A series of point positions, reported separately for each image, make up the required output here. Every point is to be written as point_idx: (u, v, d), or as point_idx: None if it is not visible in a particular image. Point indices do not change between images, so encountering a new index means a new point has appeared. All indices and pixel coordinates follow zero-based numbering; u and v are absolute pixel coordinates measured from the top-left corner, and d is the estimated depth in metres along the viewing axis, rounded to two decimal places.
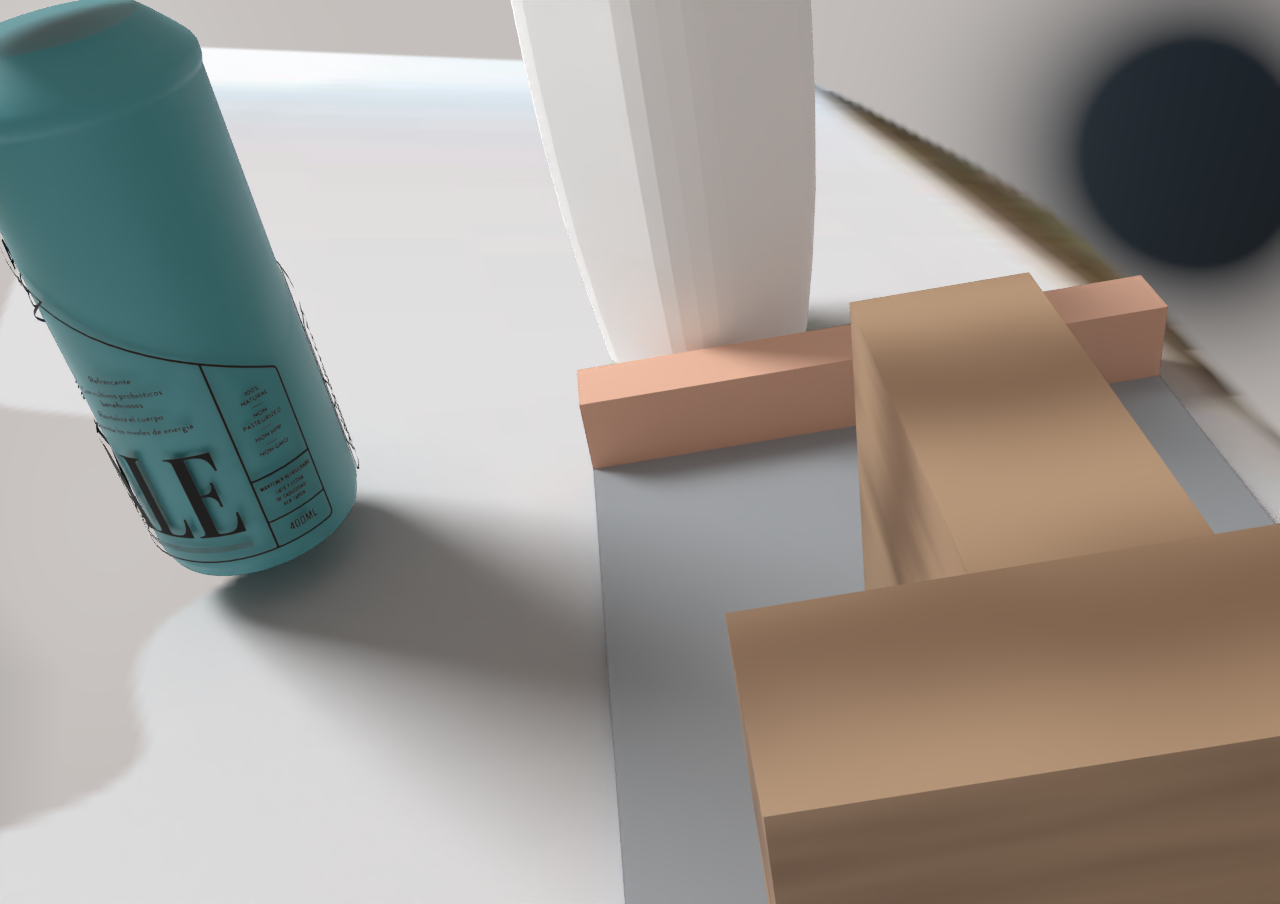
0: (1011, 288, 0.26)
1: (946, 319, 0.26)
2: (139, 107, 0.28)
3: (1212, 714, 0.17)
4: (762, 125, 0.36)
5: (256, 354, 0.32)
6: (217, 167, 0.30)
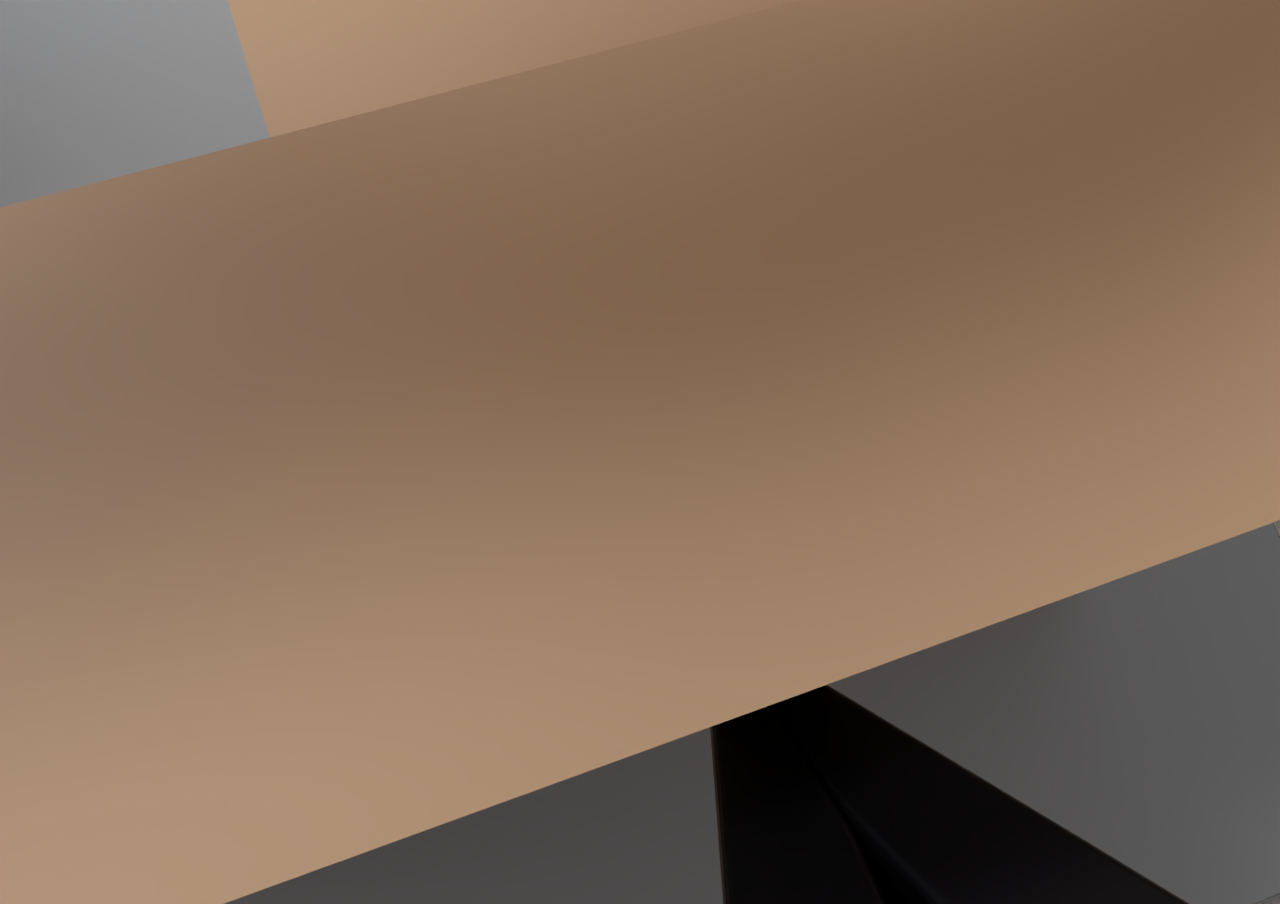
0: None
1: None
2: None
3: (859, 572, 0.07)
4: None
5: None
6: None
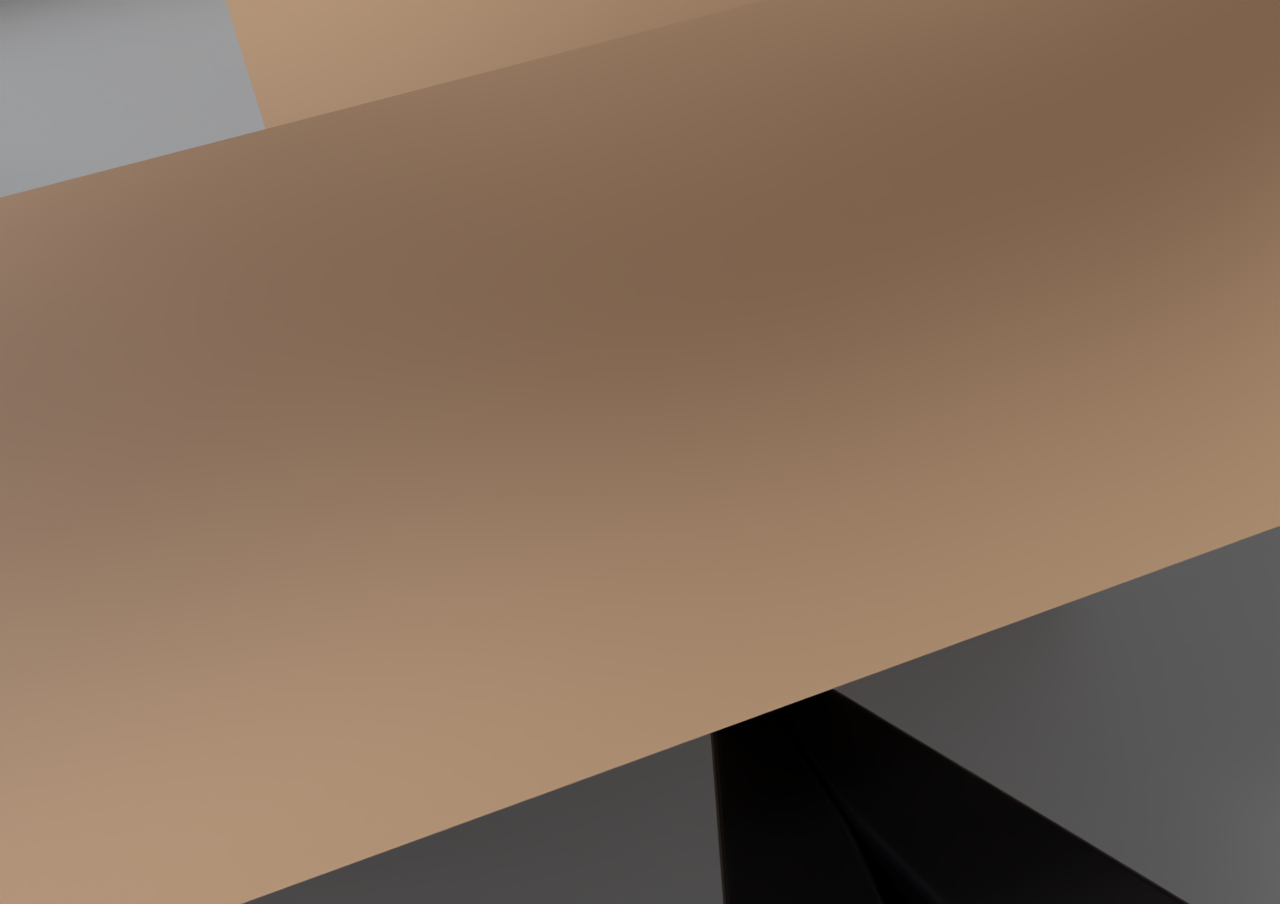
0: None
1: None
2: None
3: (867, 572, 0.07)
4: None
5: None
6: None
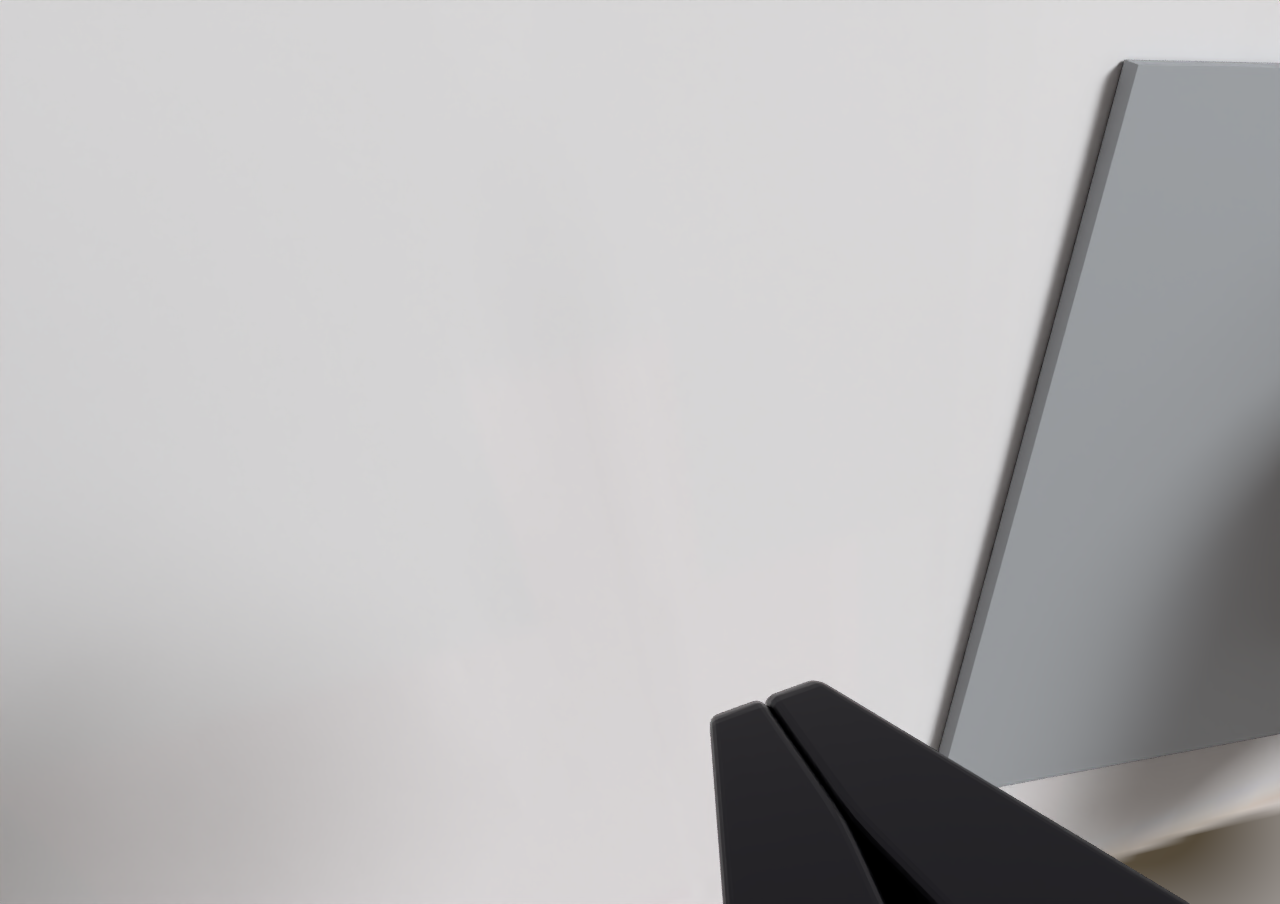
0: None
1: None
2: None
3: None
4: None
5: None
6: None
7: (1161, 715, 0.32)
